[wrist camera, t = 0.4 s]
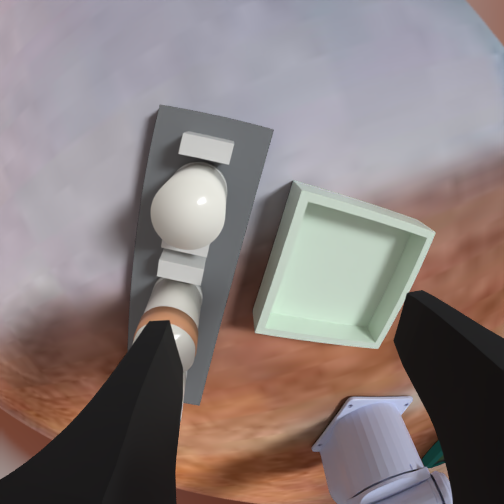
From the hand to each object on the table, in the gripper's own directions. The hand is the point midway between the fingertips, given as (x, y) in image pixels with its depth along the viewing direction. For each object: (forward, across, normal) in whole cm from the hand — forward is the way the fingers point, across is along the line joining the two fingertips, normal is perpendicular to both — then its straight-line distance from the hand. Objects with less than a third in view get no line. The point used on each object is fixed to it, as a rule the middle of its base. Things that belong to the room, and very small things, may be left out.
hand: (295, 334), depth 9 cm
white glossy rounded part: (+10, +3, -2) cm, 10 cm away
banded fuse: (+9, +5, +4) cm, 11 cm away
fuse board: (+10, +5, +4) cm, 12 cm away
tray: (+10, -5, +4) cm, 12 cm away
